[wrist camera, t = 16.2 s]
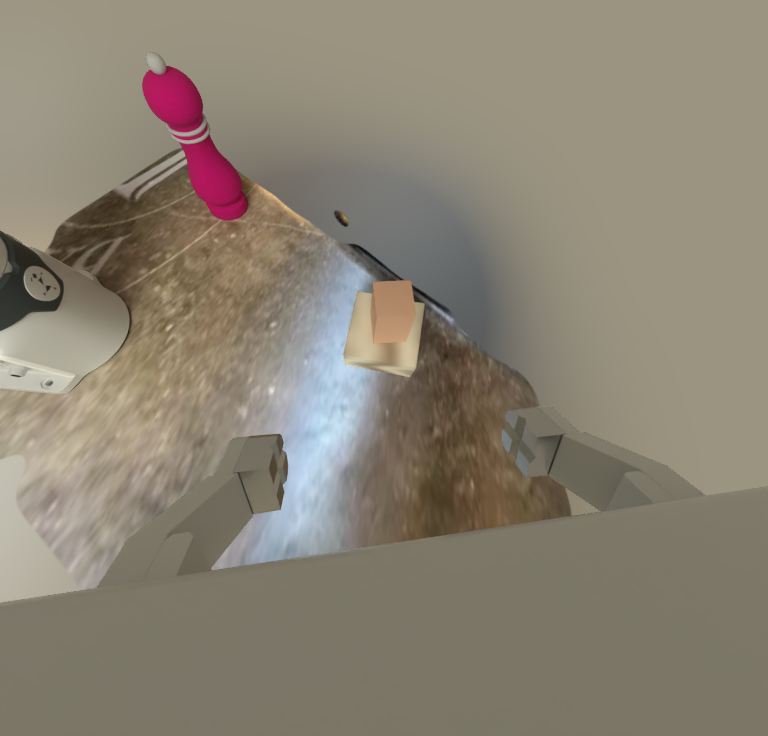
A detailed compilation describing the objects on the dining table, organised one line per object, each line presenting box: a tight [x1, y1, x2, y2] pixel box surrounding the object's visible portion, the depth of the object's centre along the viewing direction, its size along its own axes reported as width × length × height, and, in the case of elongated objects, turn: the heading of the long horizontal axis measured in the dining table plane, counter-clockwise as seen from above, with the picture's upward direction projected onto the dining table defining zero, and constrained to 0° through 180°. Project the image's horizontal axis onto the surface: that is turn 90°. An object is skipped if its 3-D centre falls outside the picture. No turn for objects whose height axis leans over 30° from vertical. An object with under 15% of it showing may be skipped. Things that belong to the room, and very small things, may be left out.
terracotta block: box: [370, 280, 416, 344], centre depth 37 cm, size 4×4×8 cm
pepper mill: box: [142, 52, 248, 220], centre depth 41 cm, size 7×7×20 cm
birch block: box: [343, 291, 425, 377], centre depth 43 cm, size 10×10×5 cm
